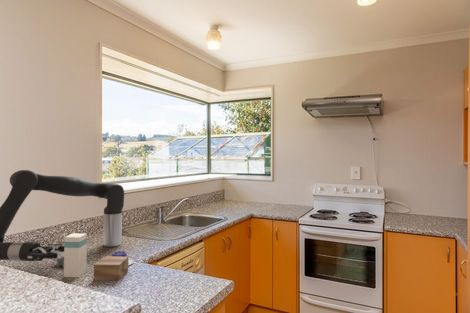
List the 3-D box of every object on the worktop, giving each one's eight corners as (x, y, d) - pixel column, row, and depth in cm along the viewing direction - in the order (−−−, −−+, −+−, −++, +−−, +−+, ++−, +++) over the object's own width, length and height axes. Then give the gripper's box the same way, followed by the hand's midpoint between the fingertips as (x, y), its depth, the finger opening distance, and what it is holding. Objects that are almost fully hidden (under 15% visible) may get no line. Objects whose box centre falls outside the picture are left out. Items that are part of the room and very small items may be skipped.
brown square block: (104, 270, 132) (104, 256, 132) (128, 270, 132) (128, 256, 132) (93, 279, 122) (93, 264, 122) (118, 280, 122) (119, 265, 122)
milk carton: (71, 271, 130) (72, 233, 130) (86, 271, 130) (86, 233, 130) (63, 277, 124) (64, 237, 124) (78, 277, 124) (79, 237, 124)
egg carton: (75, 258, 147) (75, 249, 147) (86, 261, 143) (86, 252, 143) (53, 265, 137) (53, 256, 137) (65, 268, 134) (65, 258, 134)
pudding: (99, 265, 138) (99, 253, 138) (123, 258, 148) (123, 247, 148) (114, 271, 131) (114, 259, 131) (138, 263, 141) (138, 252, 141)
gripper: (11, 247, 120) (52, 248, 120) (35, 237, 134) (72, 238, 134) (11, 266, 120) (52, 267, 120) (35, 254, 135) (72, 255, 134)
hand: (63, 252), depth 127 cm, fingers open, 8 cm apart
